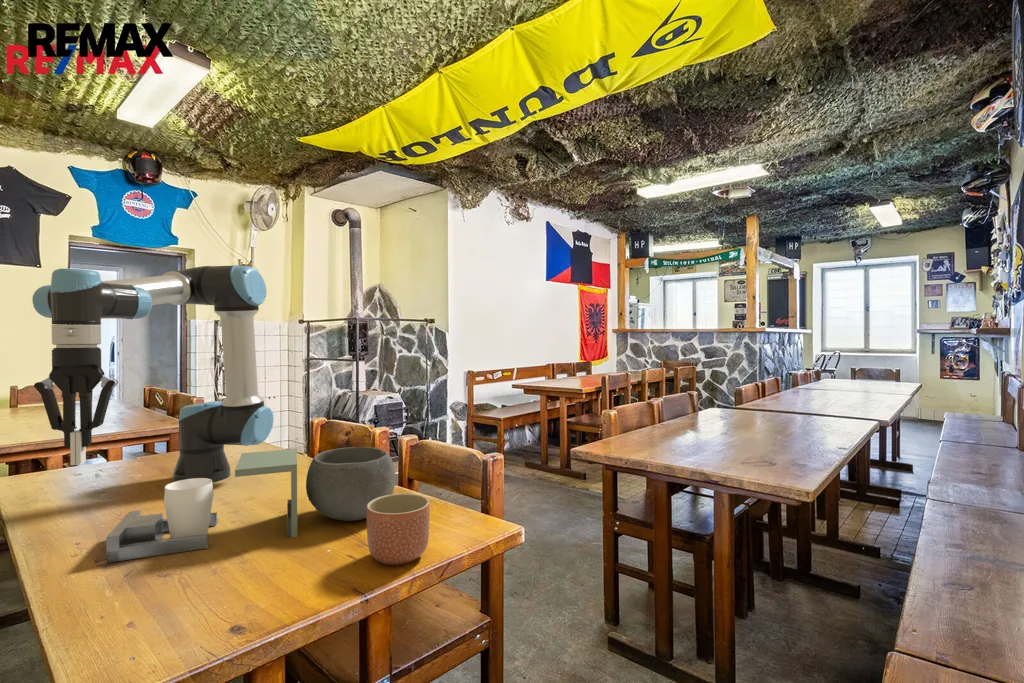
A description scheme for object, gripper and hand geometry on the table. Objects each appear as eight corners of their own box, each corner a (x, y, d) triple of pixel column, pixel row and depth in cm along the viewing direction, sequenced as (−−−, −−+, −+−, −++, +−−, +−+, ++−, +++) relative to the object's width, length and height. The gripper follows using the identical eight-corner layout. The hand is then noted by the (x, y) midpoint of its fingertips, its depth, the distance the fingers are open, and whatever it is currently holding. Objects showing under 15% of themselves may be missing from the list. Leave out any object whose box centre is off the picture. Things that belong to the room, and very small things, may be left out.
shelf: (242, 519, 120) (241, 453, 120) (296, 512, 125) (296, 448, 125) (235, 545, 106) (234, 469, 105) (297, 536, 111) (297, 464, 110)
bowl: (291, 515, 123) (290, 454, 123) (367, 495, 139) (367, 441, 138) (333, 539, 109) (332, 470, 109) (412, 514, 124) (412, 454, 124)
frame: (129, 534, 111) (129, 511, 111) (217, 522, 118) (216, 501, 118) (106, 562, 97) (106, 537, 97) (207, 548, 104) (206, 524, 104)
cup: (190, 549, 104) (189, 491, 104) (153, 545, 106) (153, 488, 106) (223, 532, 113) (222, 479, 113) (189, 529, 115) (188, 476, 114)
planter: (352, 565, 97) (352, 509, 97) (390, 540, 109) (390, 490, 108) (408, 576, 93) (408, 517, 92) (441, 549, 104) (441, 497, 104)
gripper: (25, 347, 95) (26, 471, 95) (111, 346, 100) (112, 464, 101) (43, 346, 102) (44, 462, 102) (123, 345, 107) (124, 456, 107)
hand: (78, 463), depth 101 cm, fingers closed
